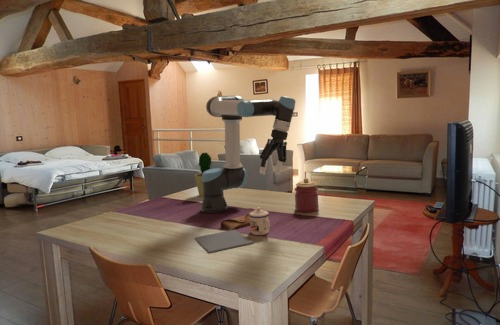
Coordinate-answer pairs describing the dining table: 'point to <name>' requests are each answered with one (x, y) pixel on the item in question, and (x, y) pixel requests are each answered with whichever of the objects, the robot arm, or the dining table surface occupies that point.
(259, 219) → the teacup with lid
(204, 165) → the potted cactus
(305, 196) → the canister
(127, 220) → the dining table surface
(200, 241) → the charcoal mat
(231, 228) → the sunglasses case
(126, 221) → the dining table surface
